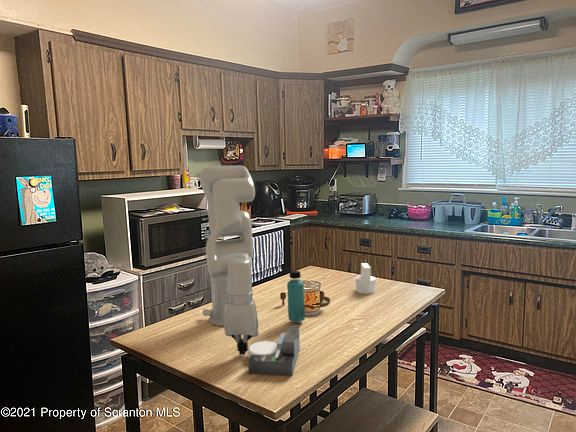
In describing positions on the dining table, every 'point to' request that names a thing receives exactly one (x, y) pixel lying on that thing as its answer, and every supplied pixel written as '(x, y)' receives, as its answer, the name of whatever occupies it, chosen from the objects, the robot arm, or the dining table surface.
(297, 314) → the beverage bottle
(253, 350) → the white round tin
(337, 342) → the dining table surface
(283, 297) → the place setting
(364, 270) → the cylinder with rectangular tab
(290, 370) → the frame
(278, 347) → the gauge plunger
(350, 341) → the dining table surface
